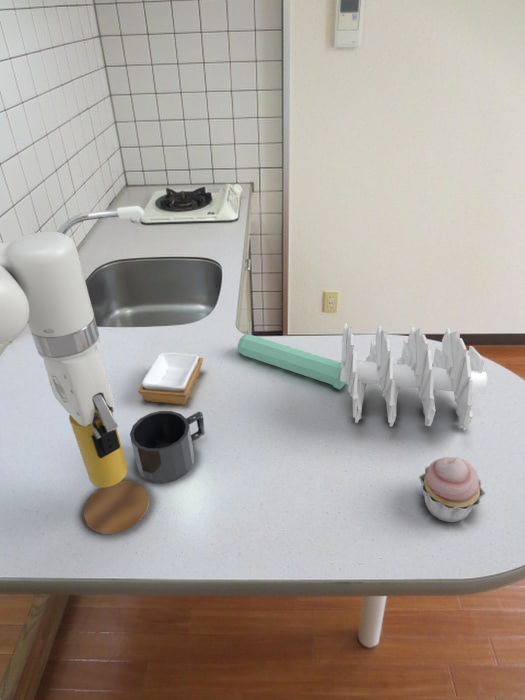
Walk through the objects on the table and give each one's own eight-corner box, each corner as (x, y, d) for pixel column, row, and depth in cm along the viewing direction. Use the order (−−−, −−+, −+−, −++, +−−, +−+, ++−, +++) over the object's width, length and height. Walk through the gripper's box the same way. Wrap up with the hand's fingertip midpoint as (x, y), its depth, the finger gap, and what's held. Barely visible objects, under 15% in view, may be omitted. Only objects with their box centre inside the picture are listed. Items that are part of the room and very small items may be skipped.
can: (81, 482, 77) (60, 422, 70) (102, 456, 82) (84, 396, 75) (114, 491, 76) (96, 429, 69) (134, 463, 80) (118, 403, 73)
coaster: (71, 525, 80) (70, 522, 80) (107, 477, 88) (106, 475, 88) (128, 541, 78) (127, 539, 77) (160, 490, 85) (159, 488, 85)
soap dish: (188, 410, 102) (185, 389, 99) (140, 405, 103) (136, 385, 100) (205, 371, 112) (202, 352, 109) (161, 368, 113) (157, 349, 111)
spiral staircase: (472, 449, 96) (334, 435, 98) (465, 364, 104) (339, 353, 107) (508, 408, 80) (343, 393, 82) (497, 312, 89) (348, 301, 91)
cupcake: (461, 478, 85) (472, 433, 79) (489, 526, 77) (505, 480, 72) (405, 486, 84) (413, 441, 78) (429, 535, 76) (439, 489, 71)
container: (235, 331, 113) (340, 364, 101) (250, 329, 118) (352, 359, 106) (231, 357, 115) (334, 392, 103) (246, 354, 120) (346, 387, 108)
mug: (157, 493, 85) (150, 460, 81) (127, 461, 91) (119, 429, 87) (221, 452, 92) (217, 420, 88) (190, 425, 98) (185, 394, 94)
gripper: (10, 319, 68) (48, 423, 78) (67, 377, 57) (103, 489, 67) (65, 299, 72) (94, 400, 82) (128, 349, 61) (153, 459, 71)
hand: (98, 439), depth 75 cm, fingers closed on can, 5 cm apart
